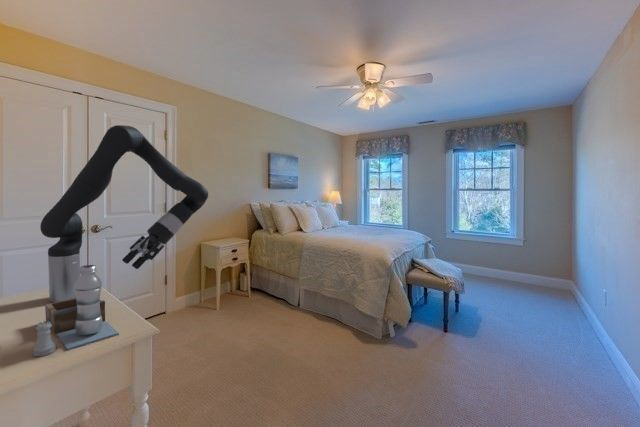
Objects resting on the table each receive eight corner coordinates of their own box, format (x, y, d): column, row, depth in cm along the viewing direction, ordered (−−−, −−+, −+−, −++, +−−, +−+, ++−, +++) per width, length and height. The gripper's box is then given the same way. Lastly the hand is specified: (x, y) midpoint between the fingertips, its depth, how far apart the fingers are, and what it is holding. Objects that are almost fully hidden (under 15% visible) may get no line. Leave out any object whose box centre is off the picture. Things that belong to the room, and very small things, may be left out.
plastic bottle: (87, 339, 84) (86, 270, 83) (68, 336, 86) (67, 268, 84) (108, 329, 90) (107, 264, 89) (90, 326, 92) (89, 262, 90)
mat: (56, 335, 87) (56, 333, 87) (105, 322, 96) (105, 320, 96) (67, 350, 80) (67, 348, 80) (118, 334, 89) (118, 332, 89)
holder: (45, 322, 95) (45, 301, 94) (93, 311, 105) (92, 292, 104) (55, 335, 87) (54, 312, 87) (105, 321, 97) (105, 301, 96)
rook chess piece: (29, 358, 75) (28, 328, 75) (37, 349, 79) (36, 320, 79) (51, 355, 77) (51, 325, 77) (58, 347, 81) (58, 318, 81)
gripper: (149, 218, 108) (112, 254, 100) (167, 223, 99) (128, 262, 91) (164, 232, 113) (129, 267, 105) (182, 237, 104) (146, 276, 96)
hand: (129, 264), depth 98 cm, fingers open, 8 cm apart
